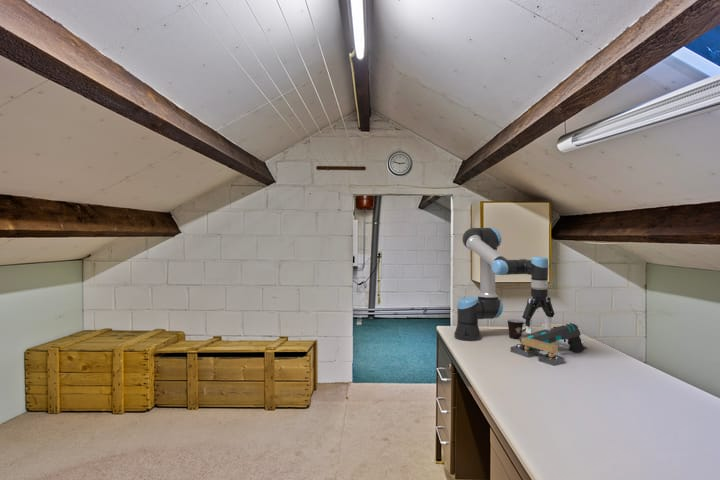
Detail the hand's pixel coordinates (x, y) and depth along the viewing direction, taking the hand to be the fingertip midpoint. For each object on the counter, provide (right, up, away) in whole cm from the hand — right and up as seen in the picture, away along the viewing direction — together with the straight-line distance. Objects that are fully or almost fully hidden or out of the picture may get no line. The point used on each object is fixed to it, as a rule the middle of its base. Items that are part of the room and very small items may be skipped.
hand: (538, 331), depth 201 cm
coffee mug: (+5, -13, +38) cm, 41 cm away
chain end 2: (+3, -13, -6) cm, 15 cm away
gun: (+12, -13, +13) cm, 22 cm away
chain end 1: (-4, -13, +7) cm, 15 cm away
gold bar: (0, -13, 0) cm, 13 cm away
